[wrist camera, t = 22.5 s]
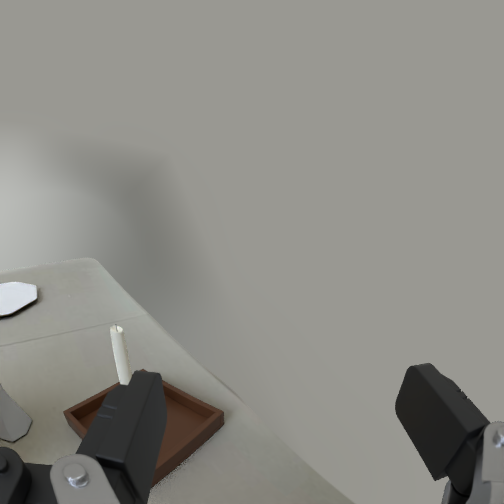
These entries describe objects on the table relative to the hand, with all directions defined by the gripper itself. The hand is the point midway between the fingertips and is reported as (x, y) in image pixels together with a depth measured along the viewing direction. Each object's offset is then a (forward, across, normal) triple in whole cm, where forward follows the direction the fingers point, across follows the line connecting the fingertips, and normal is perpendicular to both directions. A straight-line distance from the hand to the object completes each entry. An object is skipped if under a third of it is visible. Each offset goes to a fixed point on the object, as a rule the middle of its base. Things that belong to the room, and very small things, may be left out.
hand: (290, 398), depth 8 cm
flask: (+13, +34, +24) cm, 44 cm away
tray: (+20, +14, +24) cm, 34 cm away
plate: (+51, +71, +24) cm, 91 cm away
